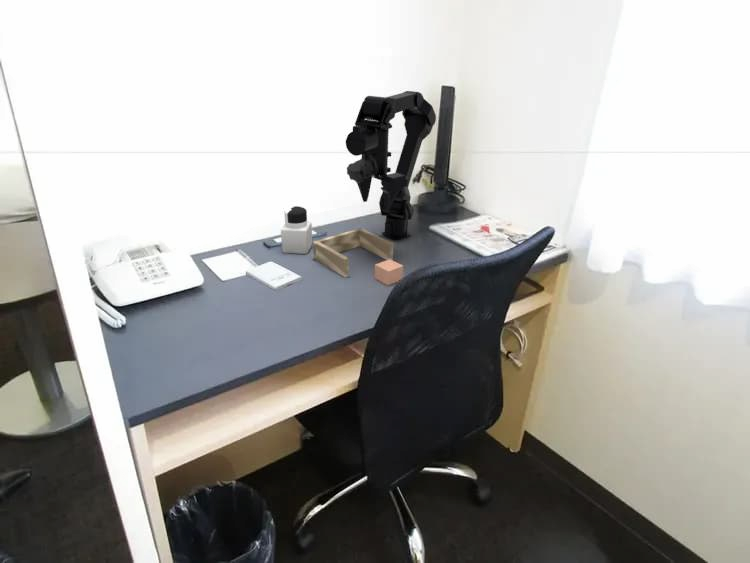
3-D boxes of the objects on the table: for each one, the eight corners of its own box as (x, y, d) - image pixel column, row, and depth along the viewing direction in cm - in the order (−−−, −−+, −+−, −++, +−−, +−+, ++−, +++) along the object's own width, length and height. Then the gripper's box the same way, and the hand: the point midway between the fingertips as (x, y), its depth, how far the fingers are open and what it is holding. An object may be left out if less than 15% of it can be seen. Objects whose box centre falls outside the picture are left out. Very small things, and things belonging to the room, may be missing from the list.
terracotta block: (389, 273, 125) (389, 259, 123) (402, 279, 122) (403, 265, 120) (374, 278, 122) (374, 264, 120) (388, 285, 119) (388, 271, 117)
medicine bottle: (312, 244, 140) (310, 204, 134) (307, 254, 134) (305, 213, 128) (288, 242, 140) (285, 203, 135) (282, 253, 134) (278, 212, 128)
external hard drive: (272, 266, 128) (302, 281, 121) (246, 276, 123) (275, 292, 115) (271, 260, 127) (302, 275, 120) (245, 270, 122) (275, 286, 115)
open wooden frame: (360, 243, 141) (360, 227, 138) (392, 260, 131) (393, 243, 129) (313, 258, 131) (312, 241, 129) (344, 277, 122) (344, 259, 119)
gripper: (330, 145, 126) (331, 202, 133) (376, 159, 113) (375, 222, 120) (363, 140, 132) (363, 195, 139) (410, 153, 120) (407, 213, 127)
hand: (375, 205), depth 131 cm, fingers open, 9 cm apart
